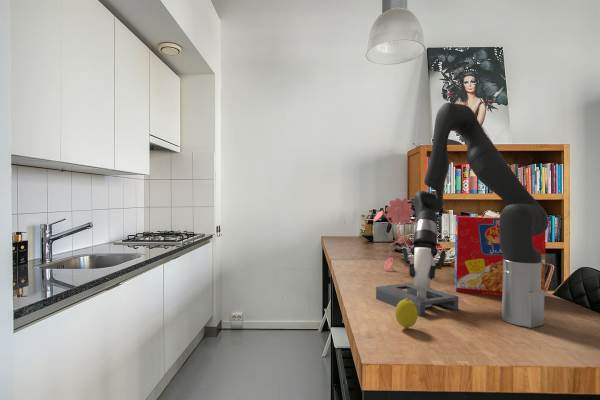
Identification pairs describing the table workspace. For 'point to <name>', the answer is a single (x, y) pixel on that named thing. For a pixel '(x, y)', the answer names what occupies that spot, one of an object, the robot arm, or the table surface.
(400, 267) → the table surface
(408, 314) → the lemon
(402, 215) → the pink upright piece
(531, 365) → the table surface
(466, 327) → the table surface
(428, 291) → the keyhole plate
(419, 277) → the footed peg
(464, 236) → the pasta box
